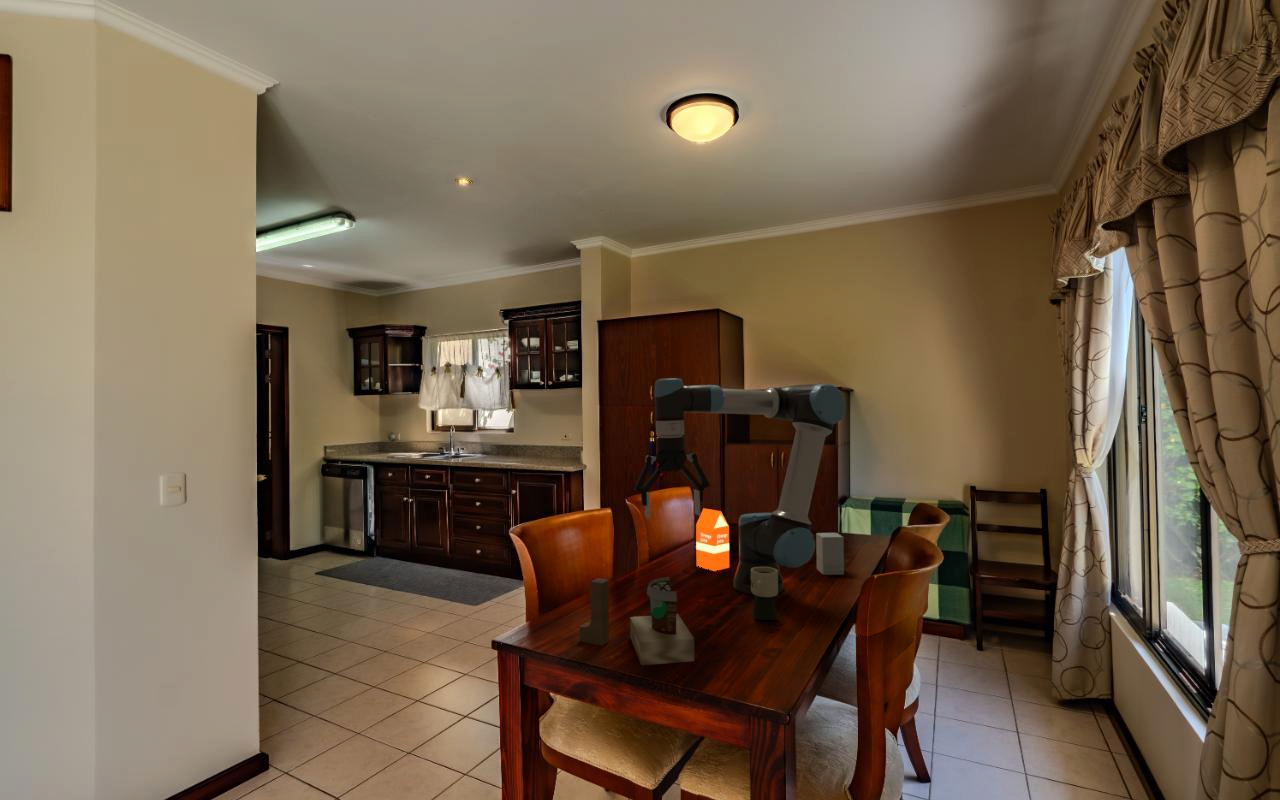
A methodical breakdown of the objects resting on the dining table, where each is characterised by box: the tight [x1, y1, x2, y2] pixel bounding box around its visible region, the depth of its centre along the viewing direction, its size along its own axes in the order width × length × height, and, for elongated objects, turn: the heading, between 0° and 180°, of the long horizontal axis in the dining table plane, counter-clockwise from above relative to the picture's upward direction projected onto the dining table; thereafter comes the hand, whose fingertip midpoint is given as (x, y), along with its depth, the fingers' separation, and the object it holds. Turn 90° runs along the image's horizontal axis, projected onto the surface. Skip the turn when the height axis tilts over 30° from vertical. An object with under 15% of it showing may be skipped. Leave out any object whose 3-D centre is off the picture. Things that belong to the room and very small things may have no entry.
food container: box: [646, 576, 678, 634], centre depth 141 cm, size 12×6×10 cm, turn 5°
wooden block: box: [578, 577, 610, 647], centre depth 145 cm, size 7×3×15 cm, turn 64°
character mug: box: [751, 567, 779, 622], centre depth 160 cm, size 11×7×13 cm, turn 151°
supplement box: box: [815, 532, 845, 576], centre depth 203 cm, size 7×7×13 cm
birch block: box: [629, 613, 695, 666], centre depth 141 cm, size 12×16×5 cm
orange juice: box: [695, 508, 730, 572], centre depth 211 cm, size 8×9×20 cm
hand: (672, 516), depth 160 cm, fingers open, 13 cm apart
